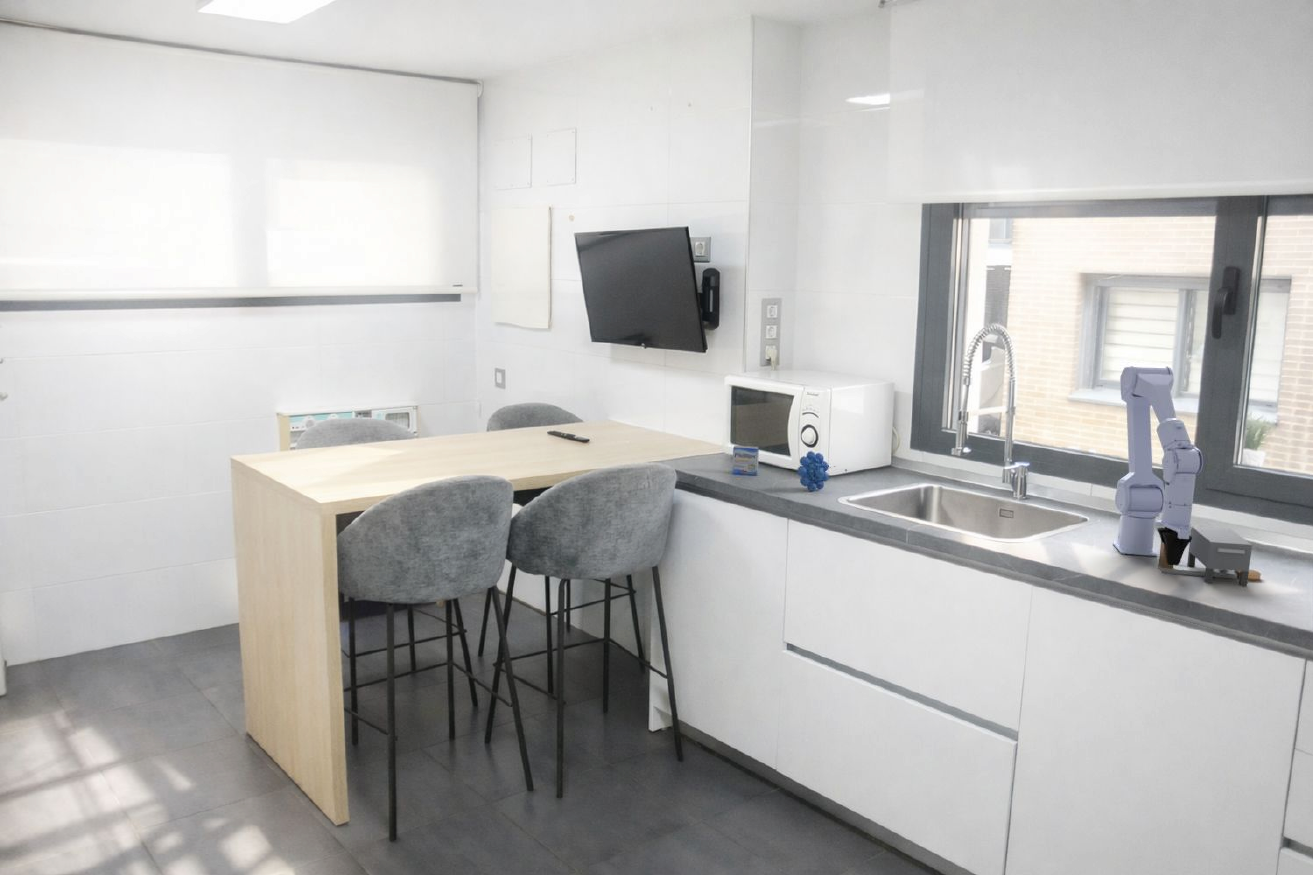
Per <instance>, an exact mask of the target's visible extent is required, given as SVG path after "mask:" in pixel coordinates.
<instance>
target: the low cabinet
mask: <svg viewBox="0 0 1313 875" xmlns="http://www.w3.org/2000/svg"><path fill="white" fill-rule="evenodd" d="M1190 536H1191V537H1192V540H1191V541H1190V542H1189V544H1188V545H1189V547H1188V554H1187V563H1186V565H1187V567H1195V566H1196V565H1195V564H1196V560H1198V561H1199V562H1200V563H1201V564H1202V565H1203V566H1205V568H1206V570H1205V576H1204V580H1203V582H1205V584H1213V579H1214V577H1213V571H1214V569H1221V570H1233V571H1234V570H1235V571H1240V579H1238V585H1240V587H1247V586H1248V582H1249V581H1248V574H1249V570H1250V563H1251V557H1252V556H1251V555H1252V549H1253V545H1252V544H1251V542H1249V541H1247V540H1246V539H1245V538H1244V537H1242V536H1241V535H1239V534H1238V533H1237V532H1235V531H1233V530H1232V529H1231V528H1223V527H1208V526H1204V527H1203V526H1193V525H1191V528H1190Z"/></svg>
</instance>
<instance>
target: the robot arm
mask: <svg viewBox="0 0 1313 875" xmlns="http://www.w3.org/2000/svg"><path fill="white" fill-rule="evenodd" d="M1119 380H1120V383H1119V384H1120V395H1121V397H1120V398H1121V400H1122V402H1124V403H1125V404H1126V423H1127V424H1126V428H1127V451H1128V452H1127V455H1128V456H1127V457H1128V473H1127V474H1125V475H1124V476H1123V477H1122V478H1120V479H1118V481H1117V484H1116V492H1115V496H1114V498H1115V500H1114V501H1115V506H1116V509H1117V510H1118V511H1119V513H1121V514H1122V515H1120V518H1119V519H1118V520H1119V523H1118V529H1117V530H1118V531H1117V540H1116V541H1112V545H1113V546H1114V547H1115V548H1116V549H1117V551H1119V553H1120V554H1124V555H1135V556H1136V555H1138V556H1147V557H1149V556H1151V557H1158V556H1159V555H1158V553H1157V552H1156V551H1155V549H1153V547H1154V538H1155V528H1156V525H1157V526H1162V527H1157V529H1156V530H1157V532H1158V534H1159V537H1160V542H1161V541H1165V543H1166V550H1167V563H1168V565H1173V566H1179V565H1180V562H1181V559H1182V557H1183V554H1184V552H1185V550H1186V548H1187V546H1188V545H1190V541H1191V540H1192V537H1191V527H1192V524H1191V522H1192V511H1193V502H1194V492H1195V485H1196V476H1198V475H1199V474H1200V473H1201V472H1202V469H1203V466H1204V458H1203V453H1202V451H1201V450H1200V449H1199V448H1197V447H1196V445H1195V444H1192V442H1191V439H1190V436H1189V434H1188V431H1187V428H1186V425H1185V423H1184V421H1182V420H1180V419H1178V418H1177V415H1176V410H1175V407H1174V402H1173V397H1172V394H1171V391H1172V388H1173V385H1174V380H1175V379H1174V371H1173V370H1172V368H1171V367H1170V365H1168V364H1163V365H1157V364H1156V365H1153V364H1152V365H1149V364H1148V365H1147V364H1131V363H1129V364H1127V365H1126V366H1125V367H1123V370H1122V372H1121V374H1120V379H1119ZM1151 407H1152V410H1153V412H1154V415H1155V416H1156V419H1157V420H1158V423H1159V424H1158V425H1157V427H1156V432H1157V433H1156V434H1157V436H1158V439H1159V442H1160V444H1161V445H1160V446H1161V448H1162V451H1163V457H1162V458H1161V465H1162V466H1161V467H1162V472H1163V476H1162V478H1163V480H1162V479H1160V477H1158V476H1157V475H1156V474H1154V472H1153V451H1152V450H1153V449H1152V447H1153V446H1152V425H1151ZM1164 481H1165V483H1164ZM1160 514H1161V519H1157V518H1159V517H1160Z"/></svg>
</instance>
